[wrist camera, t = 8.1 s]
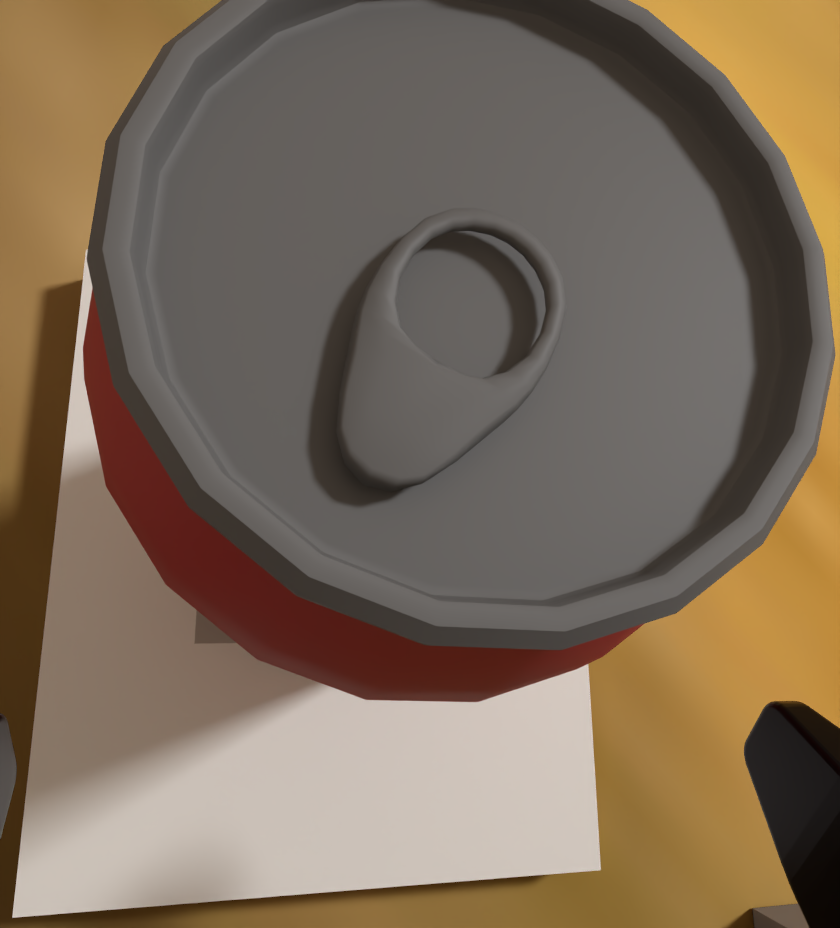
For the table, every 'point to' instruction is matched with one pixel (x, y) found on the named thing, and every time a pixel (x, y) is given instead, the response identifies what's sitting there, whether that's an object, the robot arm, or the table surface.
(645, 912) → the table surface
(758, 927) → the grey square frame
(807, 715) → the robot arm
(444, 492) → the beer can
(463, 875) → the paper card
